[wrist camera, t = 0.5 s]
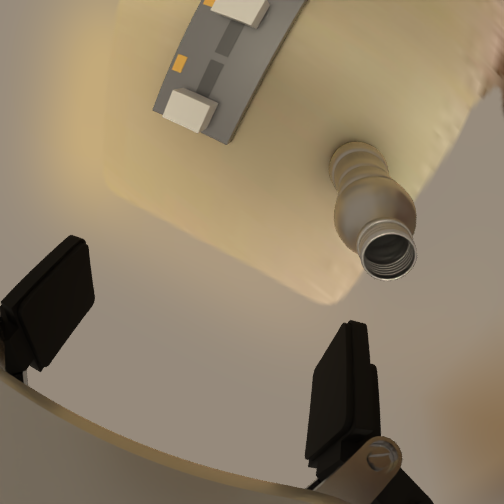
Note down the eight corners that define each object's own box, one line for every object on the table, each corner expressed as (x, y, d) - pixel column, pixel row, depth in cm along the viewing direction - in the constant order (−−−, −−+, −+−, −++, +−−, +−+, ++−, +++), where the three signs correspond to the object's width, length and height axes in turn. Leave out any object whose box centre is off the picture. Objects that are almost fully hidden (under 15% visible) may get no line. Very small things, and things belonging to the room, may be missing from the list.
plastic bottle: (368, 198, 37) (404, 310, 20) (318, 176, 37) (319, 277, 20) (392, 153, 33) (457, 237, 17) (340, 127, 33) (367, 190, 16)
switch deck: (252, -71, 21) (248, -78, 19) (333, -41, 22) (334, -47, 20) (159, 107, 35) (152, 110, 34) (231, 141, 36) (226, 145, 35)
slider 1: (183, 87, 31) (172, 89, 29) (218, 103, 32) (210, 106, 29) (173, 112, 33) (162, 116, 31) (207, 128, 34) (197, 133, 31)
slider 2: (232, -10, 24) (224, -16, 22) (270, 4, 25) (266, -2, 22) (218, 14, 26) (210, 10, 24) (256, 29, 27) (251, 25, 24)
